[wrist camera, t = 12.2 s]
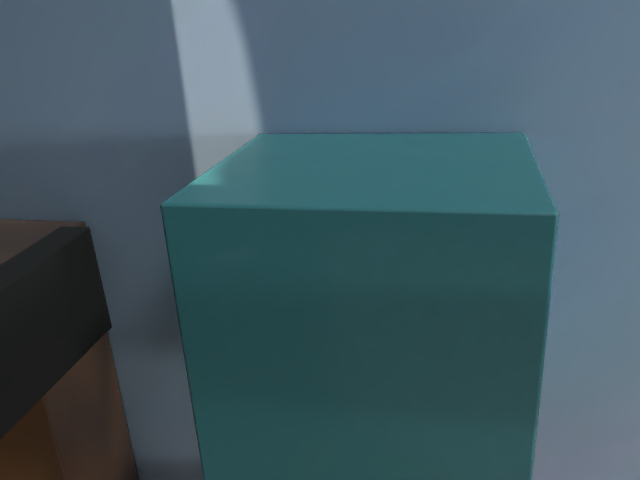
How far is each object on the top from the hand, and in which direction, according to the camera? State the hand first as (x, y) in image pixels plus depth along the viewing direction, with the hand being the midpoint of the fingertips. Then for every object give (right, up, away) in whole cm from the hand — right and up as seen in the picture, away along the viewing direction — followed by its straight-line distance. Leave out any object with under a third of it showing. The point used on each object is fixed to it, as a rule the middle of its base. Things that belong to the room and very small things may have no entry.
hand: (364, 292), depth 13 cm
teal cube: (+1, +1, +4) cm, 4 cm away
